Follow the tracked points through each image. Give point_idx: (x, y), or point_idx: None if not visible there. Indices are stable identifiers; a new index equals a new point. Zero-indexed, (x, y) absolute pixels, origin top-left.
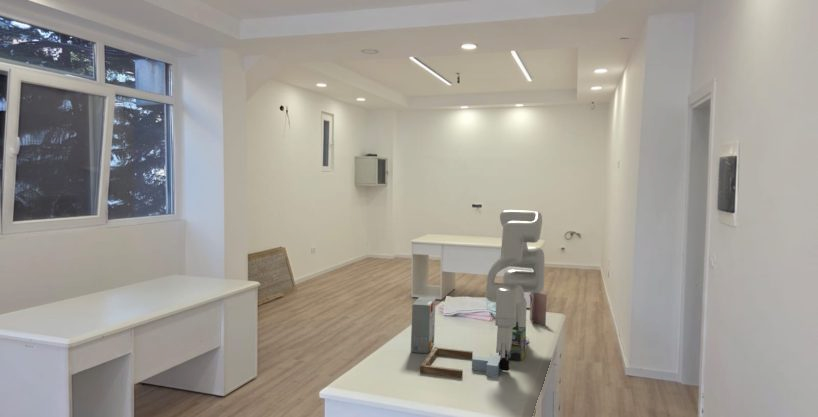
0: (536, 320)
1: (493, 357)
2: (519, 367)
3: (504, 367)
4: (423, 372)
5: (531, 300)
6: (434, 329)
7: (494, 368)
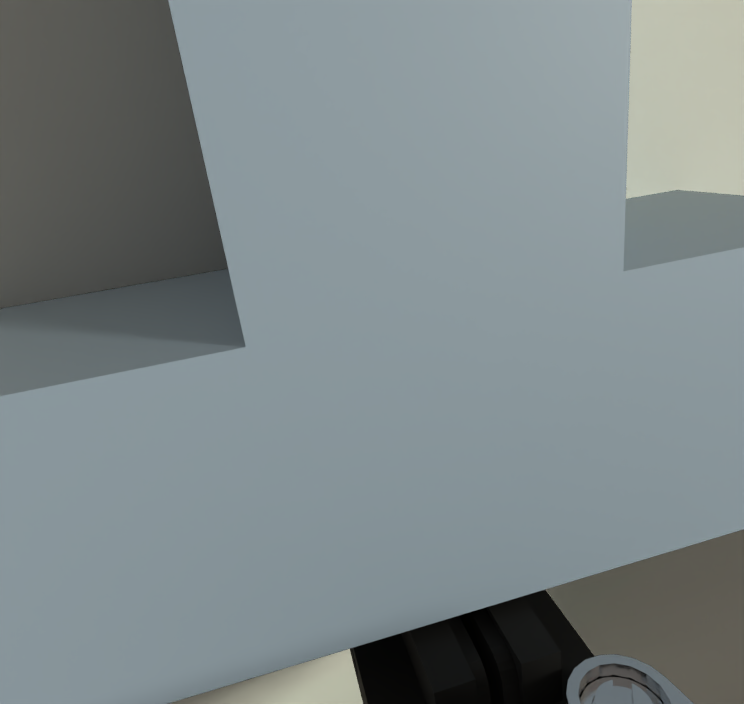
0: None
1: (673, 373)
2: (667, 636)
3: (351, 650)
4: None
5: None
6: None
7: None
